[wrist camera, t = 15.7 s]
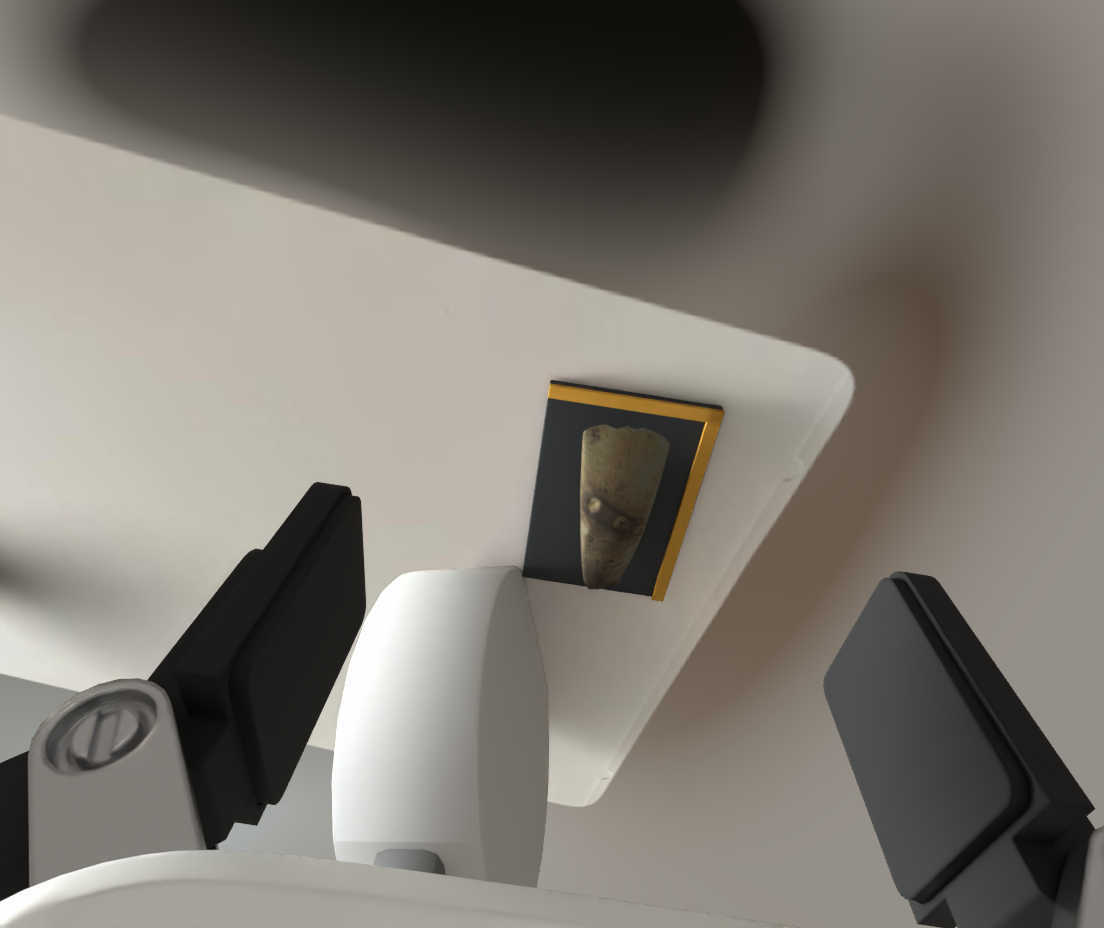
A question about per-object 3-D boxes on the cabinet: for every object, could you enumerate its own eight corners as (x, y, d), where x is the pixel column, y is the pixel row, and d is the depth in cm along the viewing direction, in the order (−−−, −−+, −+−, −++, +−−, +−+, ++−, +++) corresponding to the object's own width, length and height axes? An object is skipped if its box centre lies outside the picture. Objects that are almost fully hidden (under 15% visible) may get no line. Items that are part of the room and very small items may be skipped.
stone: (584, 409, 34) (583, 427, 32) (671, 414, 34) (674, 433, 32) (573, 575, 41) (571, 599, 39) (644, 581, 41) (646, 605, 39)
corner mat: (550, 379, 34) (549, 385, 33) (722, 406, 34) (724, 412, 33) (522, 572, 42) (521, 580, 41) (661, 593, 42) (662, 601, 41)
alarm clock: (405, 530, 41) (265, 834, 24) (511, 523, 40) (443, 836, 23) (470, 722, 52) (405, 1023, 35) (554, 720, 51) (529, 1030, 34)
